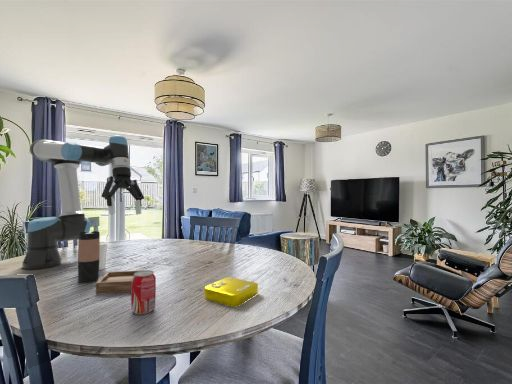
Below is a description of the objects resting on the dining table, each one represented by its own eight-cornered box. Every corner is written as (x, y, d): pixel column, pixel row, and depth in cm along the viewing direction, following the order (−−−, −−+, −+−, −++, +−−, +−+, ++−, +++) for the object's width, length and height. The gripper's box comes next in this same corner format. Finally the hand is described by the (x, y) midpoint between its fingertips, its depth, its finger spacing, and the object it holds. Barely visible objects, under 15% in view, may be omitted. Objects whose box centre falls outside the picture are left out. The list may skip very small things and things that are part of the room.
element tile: (236, 309, 88) (236, 294, 88) (201, 299, 96) (202, 285, 96) (259, 294, 101) (260, 282, 101) (228, 287, 109) (228, 275, 109)
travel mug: (88, 284, 108) (89, 234, 108) (72, 282, 110) (73, 233, 110) (103, 278, 116) (104, 231, 116) (88, 276, 117) (88, 230, 117)
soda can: (135, 306, 88) (136, 269, 88) (157, 306, 89) (158, 269, 89) (127, 316, 81) (127, 276, 81) (151, 315, 82) (152, 276, 82)
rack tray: (107, 281, 112) (107, 271, 112) (143, 279, 115) (143, 270, 115) (95, 294, 98) (96, 283, 98) (137, 291, 101) (137, 280, 101)
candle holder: (78, 270, 127) (78, 244, 127) (97, 265, 136) (97, 241, 136) (92, 272, 123) (93, 246, 123) (111, 267, 132) (112, 242, 132)
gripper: (100, 161, 111) (105, 211, 108) (148, 170, 134) (154, 212, 130) (89, 166, 114) (93, 215, 111) (137, 174, 137) (142, 215, 133)
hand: (126, 214), depth 120 cm, fingers open, 13 cm apart
